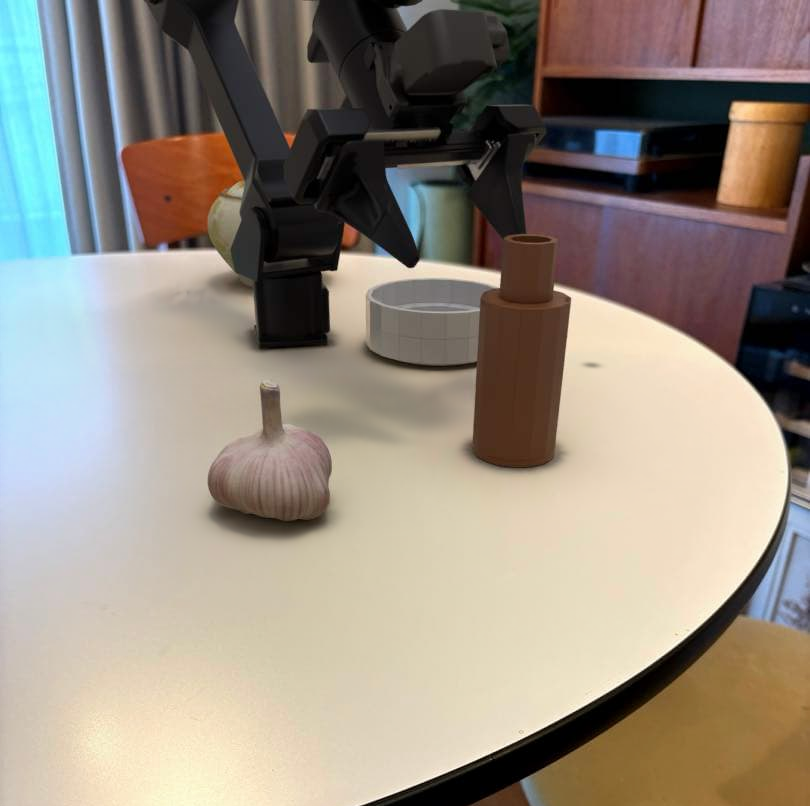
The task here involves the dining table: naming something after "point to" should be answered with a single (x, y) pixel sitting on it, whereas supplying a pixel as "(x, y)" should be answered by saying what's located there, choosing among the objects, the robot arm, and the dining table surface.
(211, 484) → the garlic bulb
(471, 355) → the dish
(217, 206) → the sugar bowl
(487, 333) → the bottle
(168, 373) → the dining table surface
